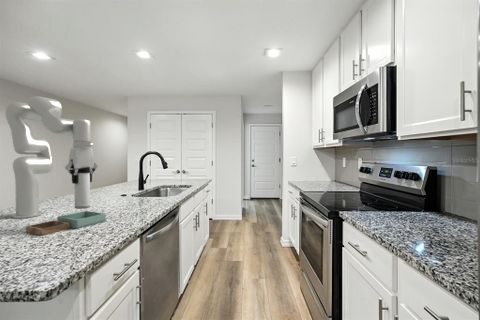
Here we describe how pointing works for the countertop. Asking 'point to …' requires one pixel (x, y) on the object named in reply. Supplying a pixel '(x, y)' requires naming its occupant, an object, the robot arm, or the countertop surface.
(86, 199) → the travel mug
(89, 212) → the tray
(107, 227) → the countertop surface
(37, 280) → the countertop surface
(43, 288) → the countertop surface
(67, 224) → the brown wooden tray
